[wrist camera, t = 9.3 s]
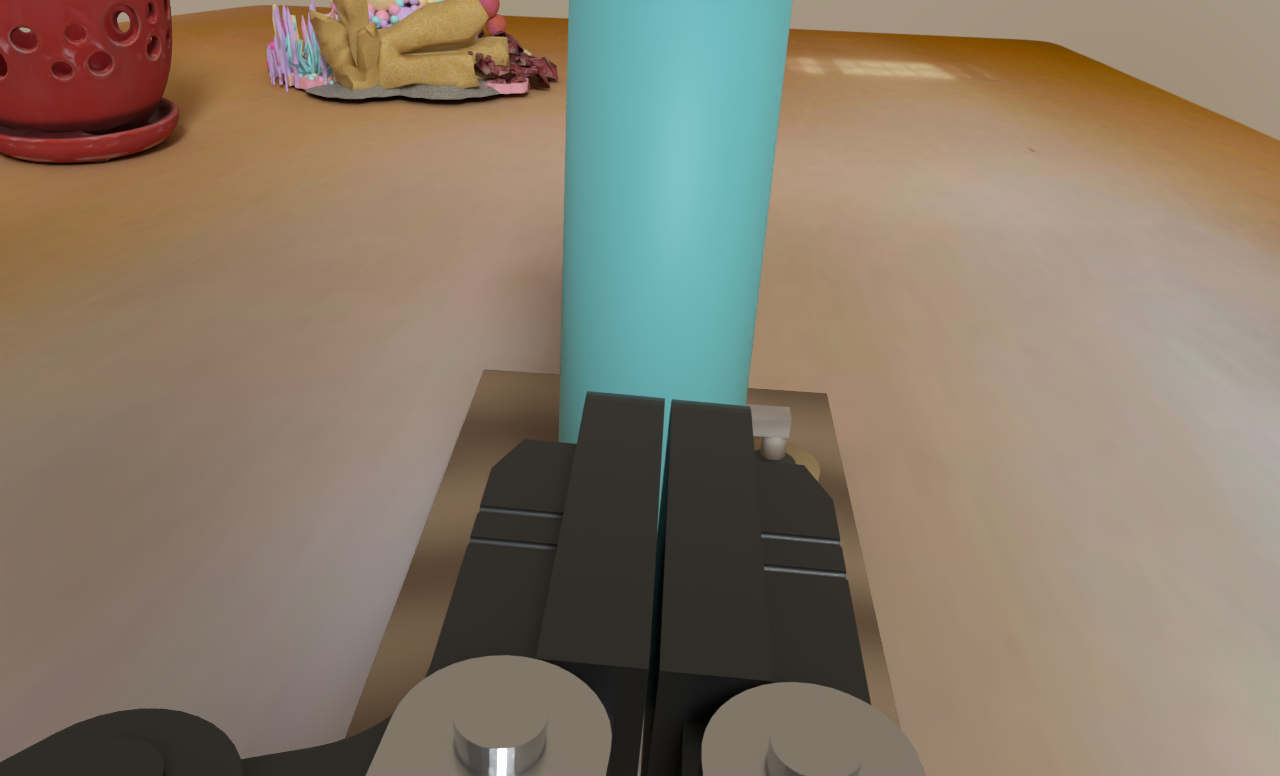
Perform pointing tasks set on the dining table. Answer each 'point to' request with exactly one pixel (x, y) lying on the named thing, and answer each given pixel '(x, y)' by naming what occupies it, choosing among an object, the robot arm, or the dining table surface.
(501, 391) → the gauge board
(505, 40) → the pastel sphere sculpture
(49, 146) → the plant pot
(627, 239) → the teal lever handle
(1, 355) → the dining table surface
